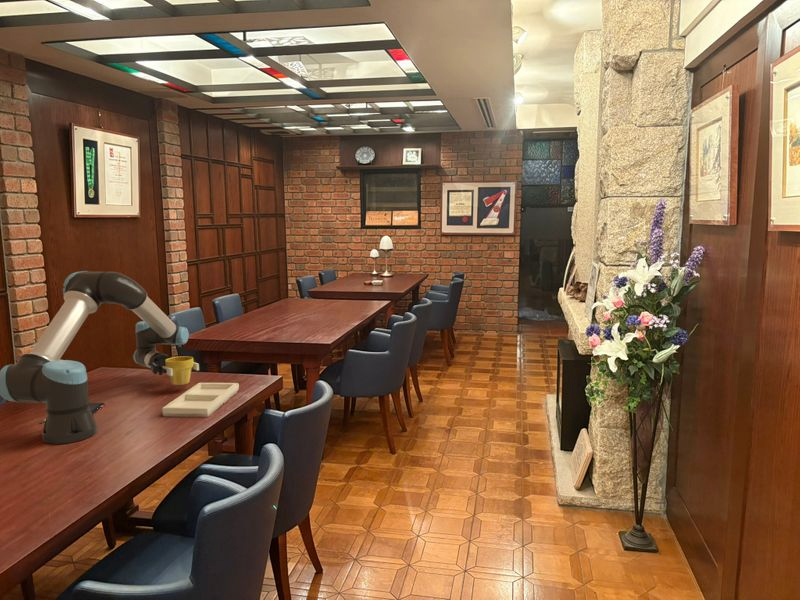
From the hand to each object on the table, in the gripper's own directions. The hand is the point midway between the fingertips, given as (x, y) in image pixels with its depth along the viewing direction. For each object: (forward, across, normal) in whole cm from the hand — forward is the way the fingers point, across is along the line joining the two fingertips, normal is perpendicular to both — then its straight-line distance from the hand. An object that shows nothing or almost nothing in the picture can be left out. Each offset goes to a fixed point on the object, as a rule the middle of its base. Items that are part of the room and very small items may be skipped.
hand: (185, 369), depth 223 cm
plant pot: (-4, 0, -6) cm, 7 cm away
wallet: (-8, +38, -10) cm, 40 cm away
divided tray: (+16, +2, -10) cm, 19 cm away
